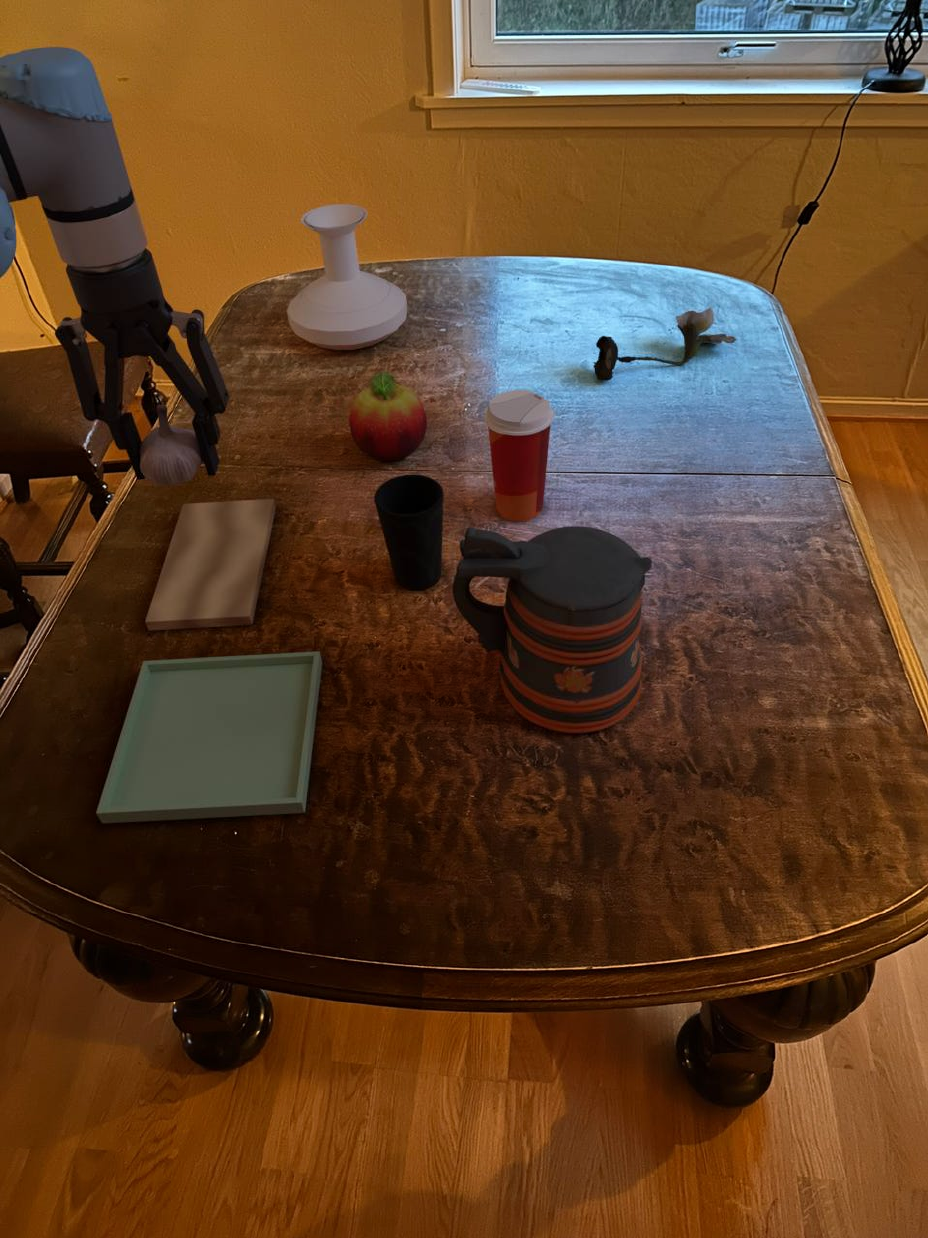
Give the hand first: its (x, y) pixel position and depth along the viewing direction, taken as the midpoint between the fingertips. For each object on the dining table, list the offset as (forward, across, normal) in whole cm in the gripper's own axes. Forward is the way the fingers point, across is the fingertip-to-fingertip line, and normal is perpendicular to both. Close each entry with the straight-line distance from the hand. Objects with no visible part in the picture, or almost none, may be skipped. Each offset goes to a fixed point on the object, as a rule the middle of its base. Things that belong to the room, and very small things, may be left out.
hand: (178, 469), depth 94 cm
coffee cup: (+17, -37, -12) cm, 43 cm away
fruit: (+17, -20, -27) cm, 38 cm away
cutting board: (+17, +1, -4) cm, 17 cm away
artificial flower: (+17, -62, -47) cm, 80 cm away
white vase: (+17, -12, -63) cm, 66 cm away
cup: (+17, -24, 0) cm, 30 cm away
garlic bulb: (+1, 0, 0) cm, 1 cm away
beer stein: (+17, -38, +18) cm, 46 cm away
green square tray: (+17, -4, +23) cm, 29 cm away
